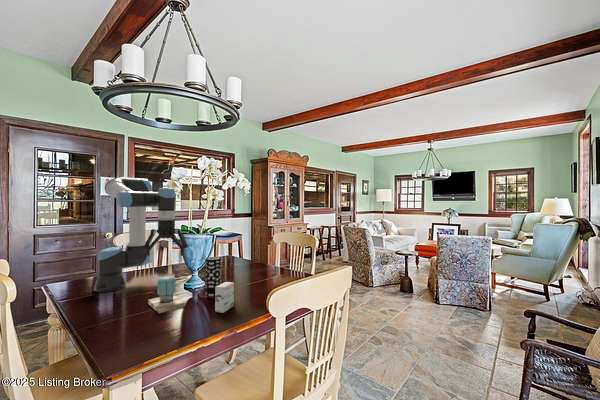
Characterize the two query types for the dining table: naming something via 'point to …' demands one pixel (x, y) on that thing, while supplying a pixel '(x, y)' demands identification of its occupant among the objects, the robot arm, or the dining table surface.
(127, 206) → the robot arm
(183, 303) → the board
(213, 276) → the white-spotted black cylinder
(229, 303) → the ink box
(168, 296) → the knobbed metal weight
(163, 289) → the cap
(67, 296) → the dining table surface
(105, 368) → the dining table surface
